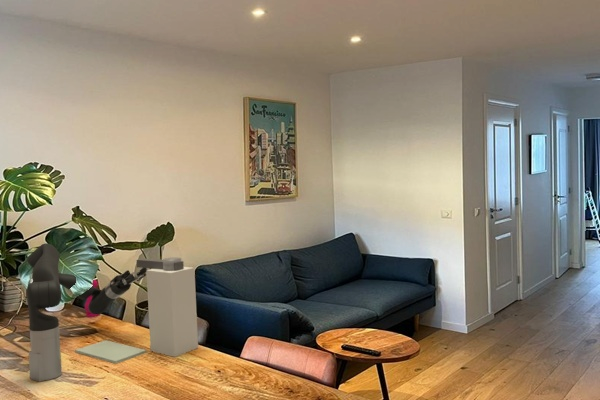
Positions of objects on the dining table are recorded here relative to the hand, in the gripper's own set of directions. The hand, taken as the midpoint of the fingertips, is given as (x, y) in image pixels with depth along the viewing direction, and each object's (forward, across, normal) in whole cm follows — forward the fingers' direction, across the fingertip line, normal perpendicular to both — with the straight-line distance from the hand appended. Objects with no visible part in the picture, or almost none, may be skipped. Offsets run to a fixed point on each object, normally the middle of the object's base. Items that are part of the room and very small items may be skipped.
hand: (137, 270), depth 222 cm
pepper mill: (-65, +16, -3) cm, 67 cm away
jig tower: (+2, 0, +36) cm, 36 cm away
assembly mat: (-15, -15, +26) cm, 33 cm away
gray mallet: (+13, 0, +5) cm, 14 cm away
